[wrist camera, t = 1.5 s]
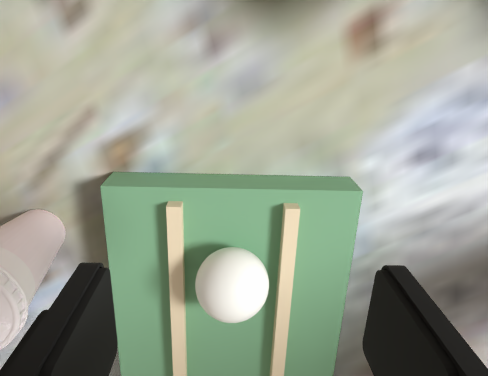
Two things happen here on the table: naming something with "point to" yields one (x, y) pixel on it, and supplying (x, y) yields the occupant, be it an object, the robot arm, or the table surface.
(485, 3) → the table surface
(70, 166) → the table surface
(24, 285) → the smoothie
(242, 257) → the ball
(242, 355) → the green
